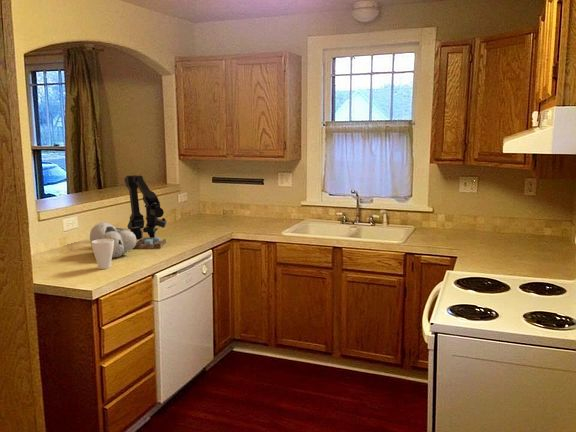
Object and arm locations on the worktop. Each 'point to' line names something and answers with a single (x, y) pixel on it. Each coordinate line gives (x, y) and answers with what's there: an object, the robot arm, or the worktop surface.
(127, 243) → the grey lobed sculpture
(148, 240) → the t block
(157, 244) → the dock
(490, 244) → the worktop surface
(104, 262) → the cup
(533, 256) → the worktop surface
